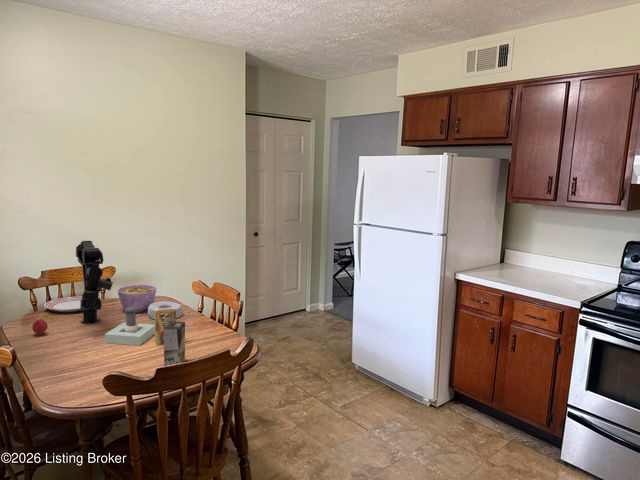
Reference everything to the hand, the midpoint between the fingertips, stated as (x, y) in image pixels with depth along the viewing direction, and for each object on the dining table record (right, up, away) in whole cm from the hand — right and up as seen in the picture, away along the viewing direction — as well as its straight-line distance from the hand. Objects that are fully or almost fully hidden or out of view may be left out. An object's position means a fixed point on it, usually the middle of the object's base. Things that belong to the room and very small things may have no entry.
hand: (93, 307), depth 209 cm
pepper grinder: (+21, -13, -7) cm, 26 cm away
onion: (-20, -12, -8) cm, 25 cm away
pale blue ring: (+25, -9, +26) cm, 37 cm away
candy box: (+38, -14, -10) cm, 42 cm away
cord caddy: (+21, -13, -7) cm, 26 cm away
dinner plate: (-28, -6, +33) cm, 44 cm away
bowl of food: (+7, -7, +34) cm, 35 cm away
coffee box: (+49, -18, -32) cm, 61 cm away
